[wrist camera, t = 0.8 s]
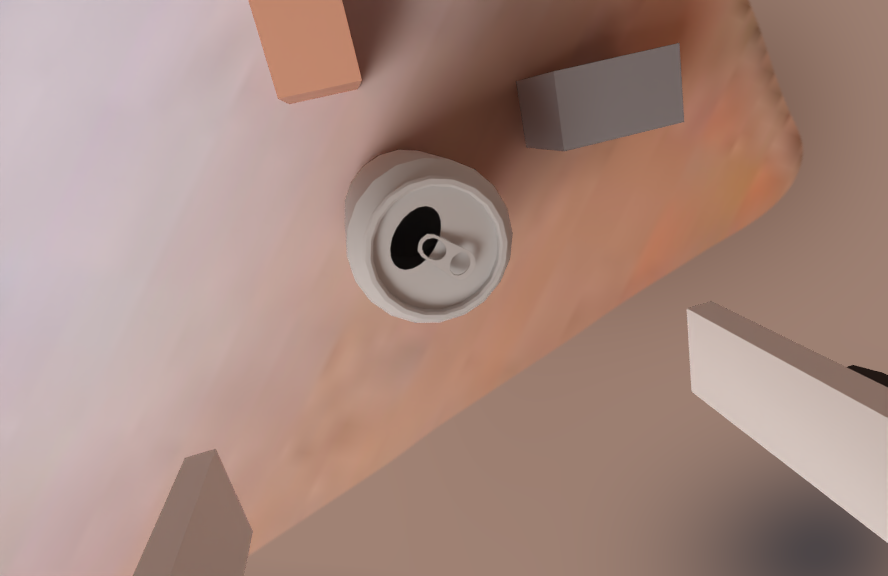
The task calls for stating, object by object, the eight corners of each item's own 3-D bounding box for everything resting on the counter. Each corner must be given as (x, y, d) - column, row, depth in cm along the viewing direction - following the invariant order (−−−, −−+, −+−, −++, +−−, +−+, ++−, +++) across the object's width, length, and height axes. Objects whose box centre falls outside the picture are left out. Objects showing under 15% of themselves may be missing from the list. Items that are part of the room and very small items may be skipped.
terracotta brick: (248, -33, 28) (226, -74, 22) (323, -47, 28) (319, -90, 23) (289, 104, 30) (278, 98, 24) (357, 89, 30) (362, 80, 25)
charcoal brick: (526, 147, 33) (564, 151, 28) (515, 81, 32) (553, 71, 26) (627, 122, 34) (684, 121, 28) (620, 57, 33) (679, 42, 27)
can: (380, 124, 31) (403, 122, 20) (483, 187, 33) (557, 216, 22) (322, 234, 32) (313, 290, 21) (426, 287, 35) (468, 363, 23)
